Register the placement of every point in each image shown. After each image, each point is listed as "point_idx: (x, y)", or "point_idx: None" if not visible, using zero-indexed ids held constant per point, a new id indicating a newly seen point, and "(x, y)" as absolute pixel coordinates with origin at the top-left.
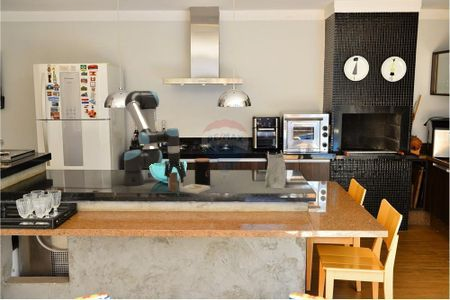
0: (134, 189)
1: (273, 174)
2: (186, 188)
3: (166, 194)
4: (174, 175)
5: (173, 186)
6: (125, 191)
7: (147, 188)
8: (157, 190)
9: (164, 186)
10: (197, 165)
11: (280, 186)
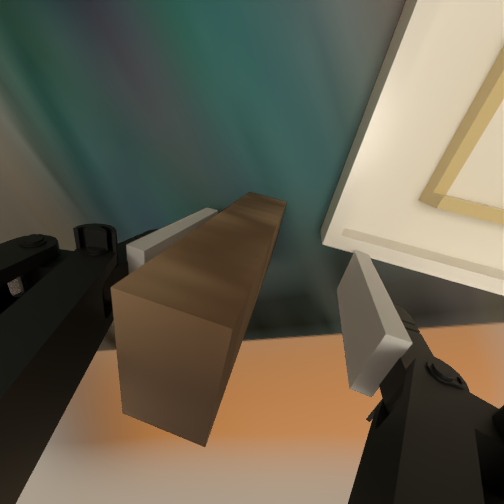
0: (3, 241)
1: None
2: (418, 266)
3: (255, 332)
4: (230, 366)
5: (262, 281)
6: (15, 294)
7: (32, 191)
8: (131, 235)
9: (69, 47)
10: None
11: None
